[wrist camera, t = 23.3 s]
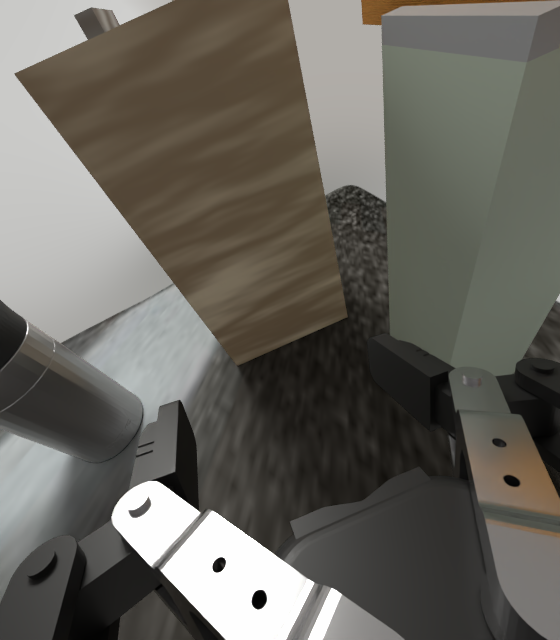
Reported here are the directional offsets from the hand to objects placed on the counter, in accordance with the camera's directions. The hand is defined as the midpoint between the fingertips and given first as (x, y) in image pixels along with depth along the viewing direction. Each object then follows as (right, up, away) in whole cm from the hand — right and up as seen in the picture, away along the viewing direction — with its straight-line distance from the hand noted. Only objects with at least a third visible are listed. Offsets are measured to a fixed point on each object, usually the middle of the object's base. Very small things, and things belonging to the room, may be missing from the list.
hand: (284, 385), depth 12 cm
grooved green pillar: (+17, -3, +20) cm, 26 cm away
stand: (-1, +5, +33) cm, 33 cm away
